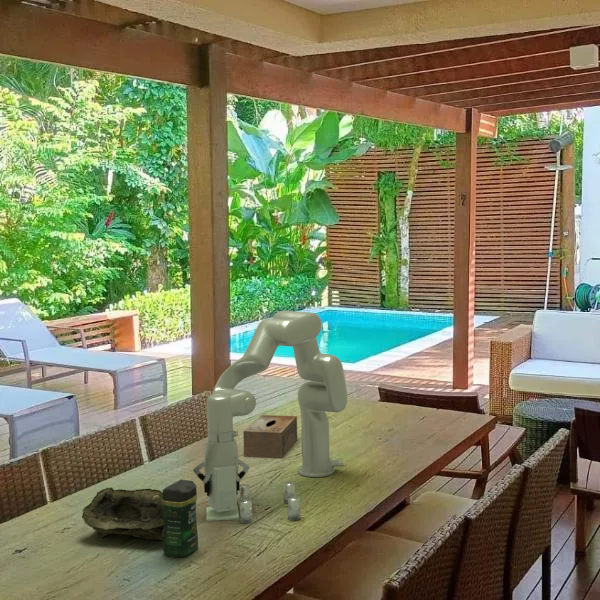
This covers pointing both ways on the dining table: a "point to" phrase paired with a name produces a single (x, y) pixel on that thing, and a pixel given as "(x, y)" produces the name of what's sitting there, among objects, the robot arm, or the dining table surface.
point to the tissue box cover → (270, 436)
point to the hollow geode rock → (127, 513)
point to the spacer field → (288, 499)
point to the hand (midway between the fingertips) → (222, 493)
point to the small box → (223, 489)
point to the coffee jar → (180, 518)
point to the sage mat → (221, 514)
